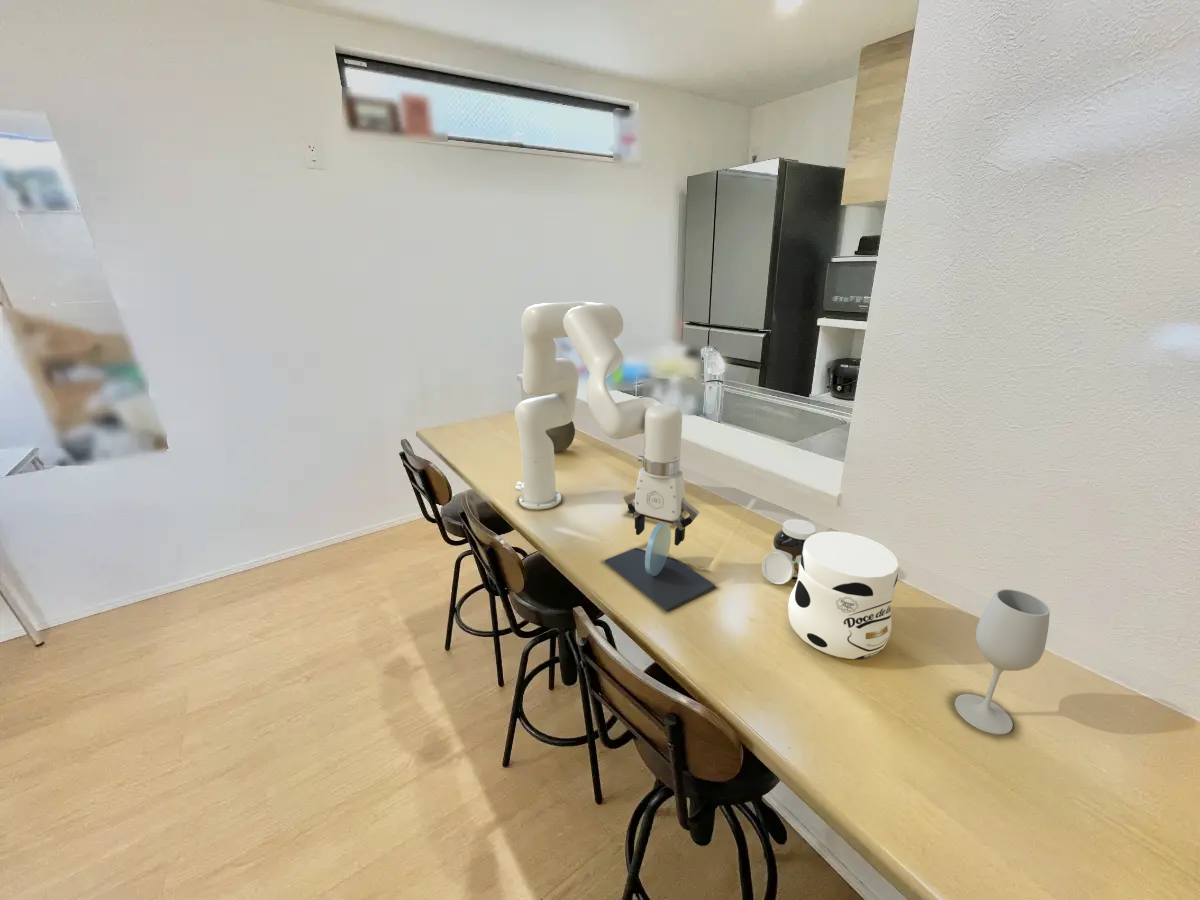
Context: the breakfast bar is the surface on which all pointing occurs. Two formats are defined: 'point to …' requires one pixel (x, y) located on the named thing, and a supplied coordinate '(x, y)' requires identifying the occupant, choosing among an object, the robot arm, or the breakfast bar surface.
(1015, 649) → the wineglass
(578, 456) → the breakfast bar surface
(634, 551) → the mat
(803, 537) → the spread jar
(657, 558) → the plate
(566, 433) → the dark grey ball
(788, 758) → the breakfast bar surface
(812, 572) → the milk container
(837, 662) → the breakfast bar surface
